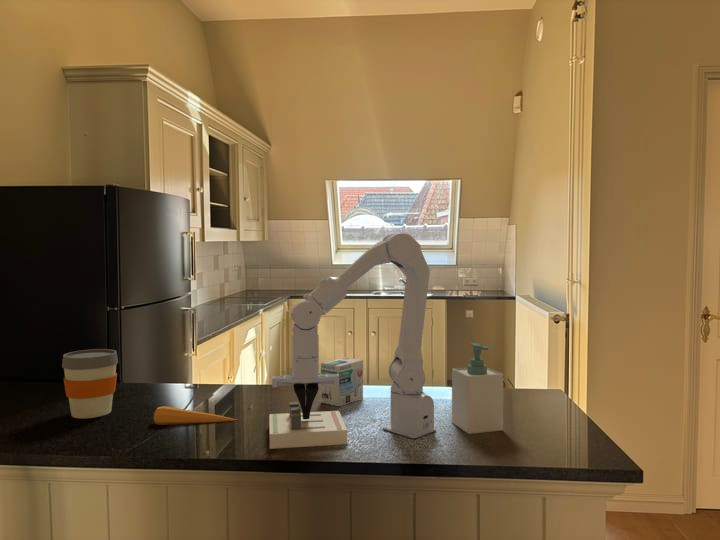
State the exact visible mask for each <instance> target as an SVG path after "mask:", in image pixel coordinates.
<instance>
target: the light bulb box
mask: <svg viewBox="0 0 720 540" xmlns="http://www.w3.org/2000/svg"><path fill="white" fill-rule="evenodd" d="M320 374H338V375H339V385H334V384H322V385H320V403H321V402H322V404H325V403H326V404H325V405H329V404H330V406H334V405H335V407H338V406H340V407H342V406H345V405H349V404H351V402H352V403H354V401H355V402H358V401H360V399H361V400H363V399H364V360H363V359H357V358H351V357H347V356H346V357H344V356H343V357H341V358H337V359H333V360H328V361H324V362H320ZM357 400H358V401H357ZM348 403H349V404H348Z"/></svg>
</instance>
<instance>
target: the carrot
mask: <svg viewBox="0 0 720 540" xmlns="http://www.w3.org/2000/svg"><path fill="white" fill-rule="evenodd" d="M152 419H153V420H154V424H155V425H157V426H158V425H159V426H165V425H166V426H167V425H184V424H188V425H189V424H203V423H220V422H221V423H222V422H223V423H224V422H237V421H236V420H238V418H237V419H236V418H232V417H228V416H227V417H226V416H223V415H218V414H213V413H207V412H201V411H195V410H189V409H185V408H177V407H174V406H173V407H172V406H165V405H164V406H159V407H157V408H156V409H155V411H154V412H153V416H152Z"/></svg>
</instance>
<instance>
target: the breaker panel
mask: <svg viewBox="0 0 720 540" xmlns="http://www.w3.org/2000/svg"><path fill="white" fill-rule="evenodd" d="M288 407H289V410H288V411H289V413H288V412H287V413H286V412H285V413H270V414H269V416H268V417H269V424H268V425H269V450H271V449H273V450H274V449H289V448H305V447H323V446H324V447H325V446H336V445H337V446H339V445H341V446H342V445H348V428H347V427H346V424H345V422H344V419H343V416H342V415H341V412H340V410H330V411H327V410H325V411H310V417H309V419H303V414H302V412H300V413H293V414H291V408H294V407H300V402H299V401H289V406H288Z"/></svg>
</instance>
